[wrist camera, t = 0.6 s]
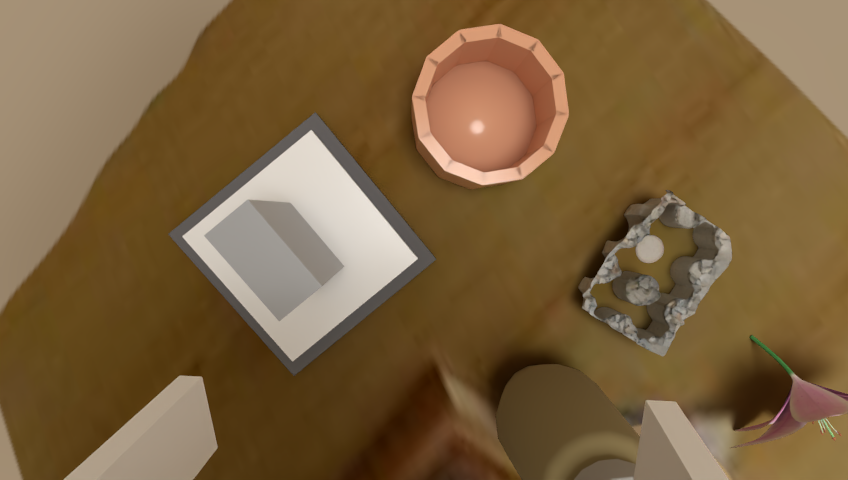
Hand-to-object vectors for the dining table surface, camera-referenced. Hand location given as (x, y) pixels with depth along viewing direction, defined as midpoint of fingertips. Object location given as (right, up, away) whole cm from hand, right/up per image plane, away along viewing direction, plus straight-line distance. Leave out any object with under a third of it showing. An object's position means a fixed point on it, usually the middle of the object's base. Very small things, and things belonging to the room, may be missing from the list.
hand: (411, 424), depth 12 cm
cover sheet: (-8, +5, +18) cm, 21 cm away
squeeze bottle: (+10, -7, +21) cm, 24 cm away
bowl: (+4, +14, +19) cm, 24 cm away
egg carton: (+18, +3, +21) cm, 27 cm away
